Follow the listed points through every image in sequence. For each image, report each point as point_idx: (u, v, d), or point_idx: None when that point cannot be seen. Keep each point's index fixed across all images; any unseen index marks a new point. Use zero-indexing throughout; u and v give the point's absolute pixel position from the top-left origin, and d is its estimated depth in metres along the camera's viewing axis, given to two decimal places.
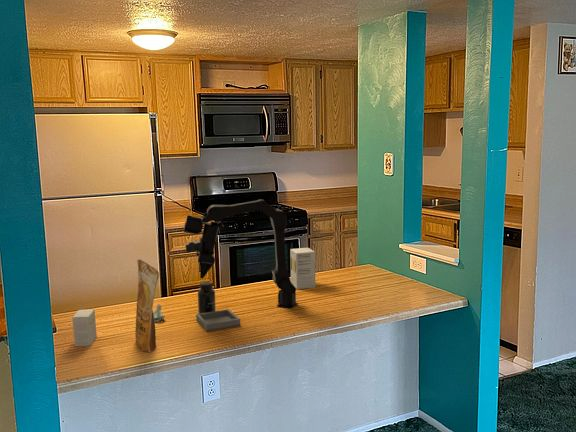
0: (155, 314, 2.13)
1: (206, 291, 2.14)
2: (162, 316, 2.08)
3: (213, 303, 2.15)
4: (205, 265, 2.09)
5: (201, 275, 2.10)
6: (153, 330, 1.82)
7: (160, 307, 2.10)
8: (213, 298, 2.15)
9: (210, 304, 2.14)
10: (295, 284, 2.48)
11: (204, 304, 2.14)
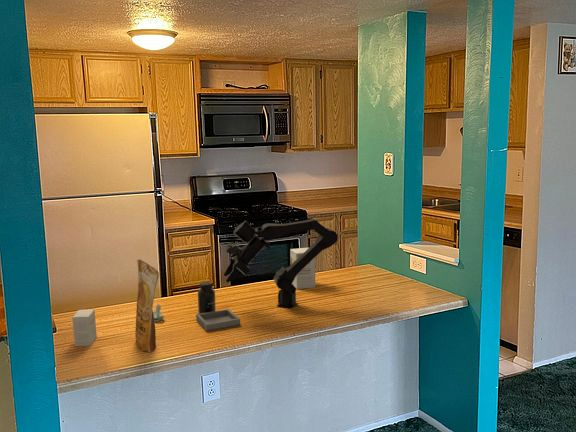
0: (154, 314, 2.13)
1: (206, 291, 2.14)
2: (161, 316, 2.08)
3: (213, 303, 2.15)
4: (237, 272, 2.12)
5: (228, 278, 2.12)
6: (153, 330, 1.82)
7: (159, 307, 2.10)
8: (213, 298, 2.15)
9: (210, 304, 2.14)
10: (295, 284, 2.48)
11: (204, 304, 2.14)
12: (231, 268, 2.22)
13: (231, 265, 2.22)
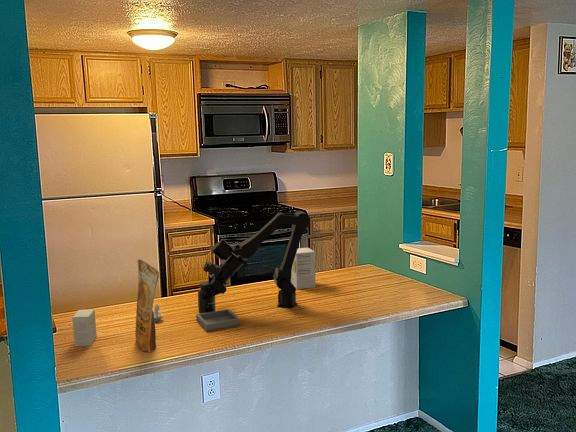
0: None
1: (206, 291, 2.14)
2: (160, 316, 2.08)
3: (213, 303, 2.15)
4: (213, 290, 2.12)
5: (204, 296, 2.13)
6: (153, 330, 1.82)
7: (158, 307, 2.09)
8: (213, 298, 2.15)
9: (210, 304, 2.14)
10: (295, 284, 2.48)
11: (204, 304, 2.14)
12: None
13: None
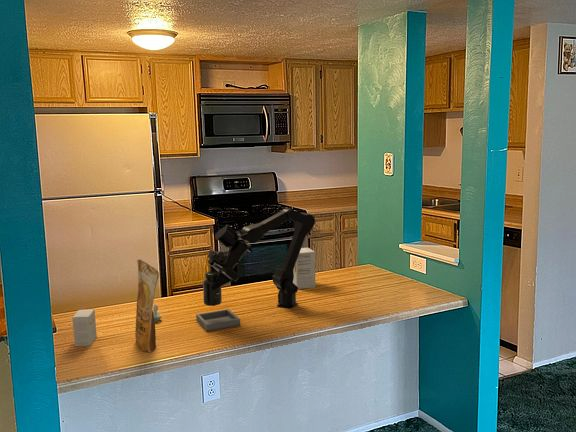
0: None
1: (214, 280, 2.04)
2: (159, 317, 2.08)
3: (220, 293, 2.07)
4: (223, 278, 2.03)
5: (213, 286, 2.03)
6: (153, 330, 1.82)
7: (157, 308, 2.09)
8: (220, 287, 2.06)
9: (218, 294, 2.05)
10: (295, 284, 2.48)
11: (213, 294, 2.04)
12: None
13: None
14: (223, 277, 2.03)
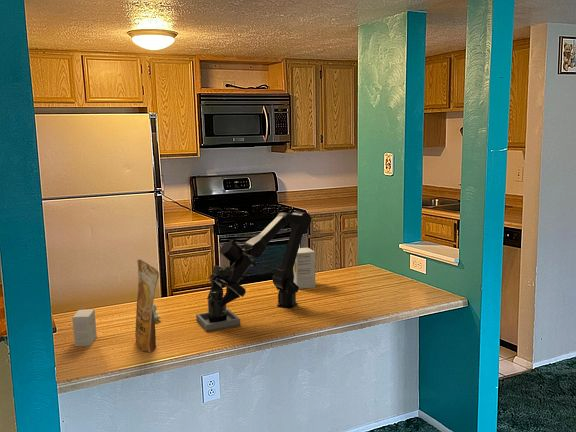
0: None
1: (220, 298, 2.02)
2: (157, 317, 2.07)
3: (226, 310, 2.05)
4: (230, 295, 2.01)
5: (221, 303, 2.00)
6: (153, 330, 1.82)
7: (155, 308, 2.09)
8: None
9: (224, 312, 2.03)
10: None
11: (219, 312, 2.02)
12: None
13: (214, 288, 2.09)
14: (231, 293, 2.01)
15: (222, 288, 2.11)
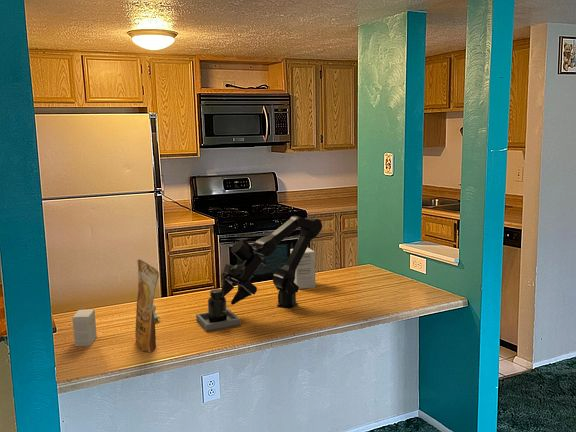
0: None
1: (220, 298, 2.02)
2: (156, 317, 2.07)
3: (226, 310, 2.05)
4: (242, 293, 2.04)
5: (233, 301, 2.03)
6: (153, 330, 1.82)
7: (155, 308, 2.09)
8: None
9: (224, 312, 2.03)
10: None
11: (219, 312, 2.02)
12: (225, 289, 2.12)
13: (225, 286, 2.12)
14: (242, 291, 2.04)
15: (233, 286, 2.14)
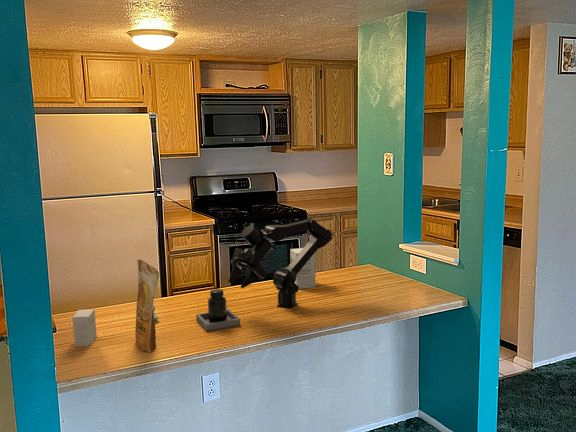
0: None
1: (220, 298, 2.02)
2: (156, 317, 2.07)
3: (226, 310, 2.05)
4: (252, 277, 2.05)
5: (243, 284, 2.04)
6: (153, 330, 1.82)
7: (154, 308, 2.09)
8: None
9: (224, 312, 2.03)
10: None
11: (219, 312, 2.02)
12: (235, 274, 2.13)
13: (235, 271, 2.13)
14: (252, 275, 2.05)
15: (242, 271, 2.16)
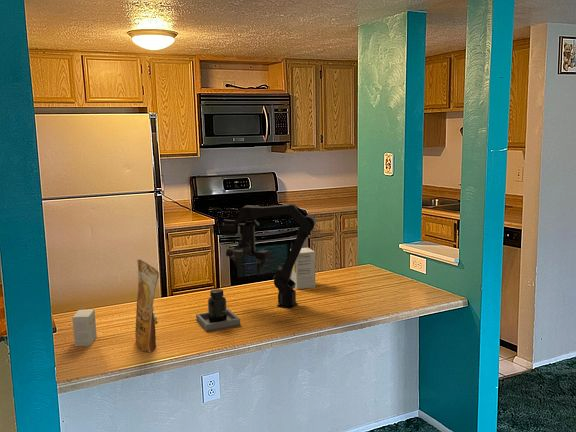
0: None
1: (220, 298, 2.02)
2: (154, 317, 2.07)
3: (226, 310, 2.05)
4: (260, 261, 2.22)
5: (258, 272, 2.22)
6: (153, 330, 1.82)
7: (152, 308, 2.08)
8: None
9: (224, 312, 2.03)
10: None
11: (219, 312, 2.02)
12: (239, 263, 2.27)
13: (237, 261, 2.26)
14: None
15: None
